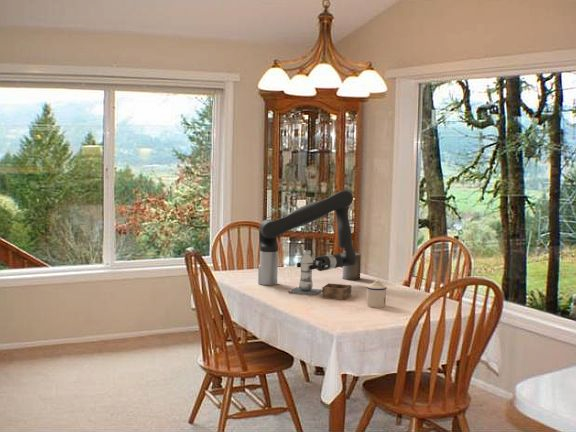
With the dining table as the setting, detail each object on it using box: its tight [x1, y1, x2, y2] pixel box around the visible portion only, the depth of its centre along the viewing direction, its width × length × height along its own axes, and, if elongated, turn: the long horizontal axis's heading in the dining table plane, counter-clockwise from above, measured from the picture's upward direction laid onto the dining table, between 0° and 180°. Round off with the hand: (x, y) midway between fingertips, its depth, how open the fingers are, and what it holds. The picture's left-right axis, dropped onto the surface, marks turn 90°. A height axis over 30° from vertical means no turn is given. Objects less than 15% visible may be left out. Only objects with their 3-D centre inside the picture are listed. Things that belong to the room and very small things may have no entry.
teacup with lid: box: [366, 279, 388, 309], centre depth 326 cm, size 12×9×12 cm
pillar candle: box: [342, 252, 362, 281], centre depth 388 cm, size 10×10×15 cm
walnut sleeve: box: [321, 282, 352, 301], centre depth 343 cm, size 11×10×5 cm
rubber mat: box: [287, 286, 322, 296], centre depth 352 cm, size 14×12×1 cm
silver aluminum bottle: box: [298, 249, 314, 291], centre depth 351 cm, size 6×7×20 cm
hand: (303, 266), depth 350 cm, fingers open, 8 cm apart
